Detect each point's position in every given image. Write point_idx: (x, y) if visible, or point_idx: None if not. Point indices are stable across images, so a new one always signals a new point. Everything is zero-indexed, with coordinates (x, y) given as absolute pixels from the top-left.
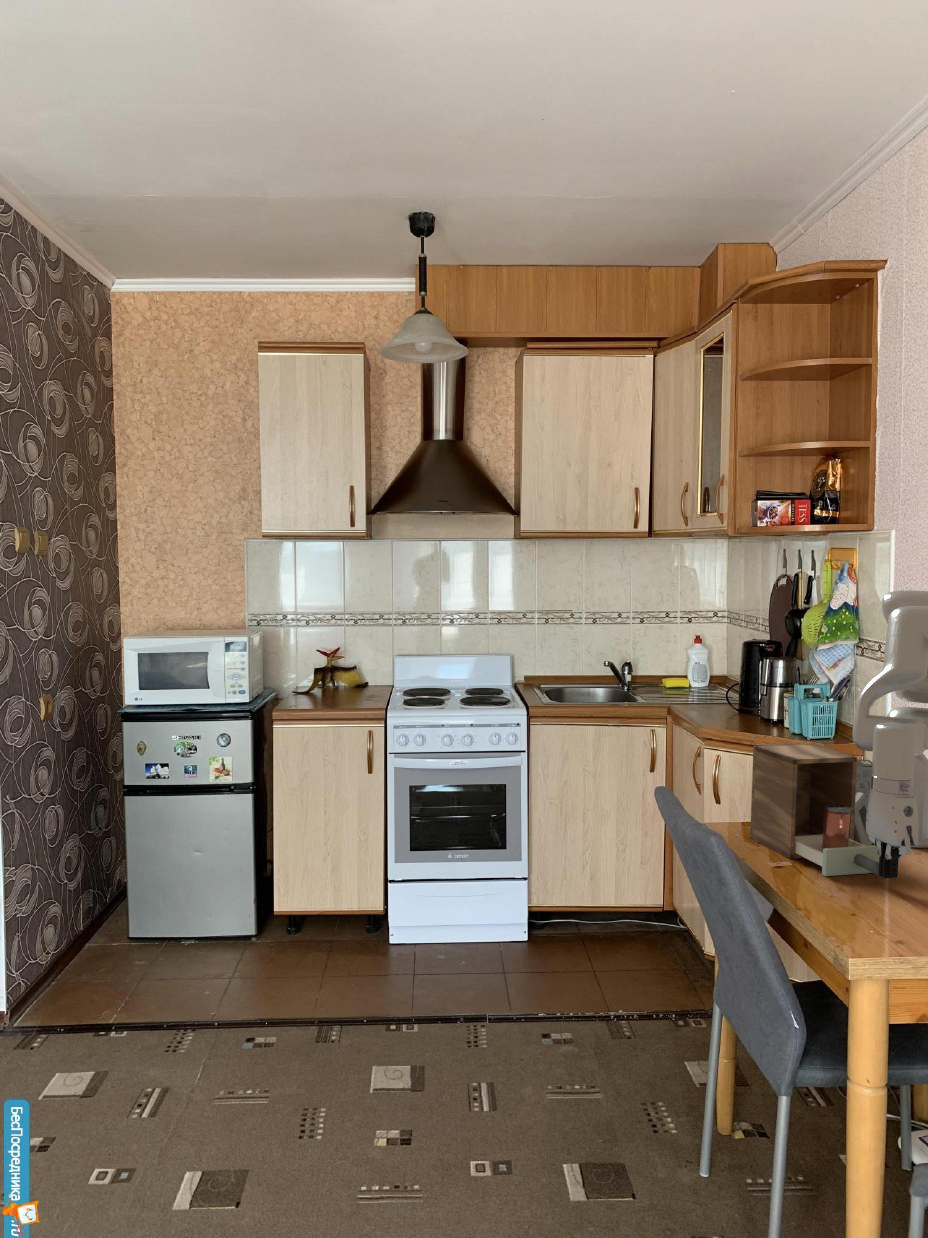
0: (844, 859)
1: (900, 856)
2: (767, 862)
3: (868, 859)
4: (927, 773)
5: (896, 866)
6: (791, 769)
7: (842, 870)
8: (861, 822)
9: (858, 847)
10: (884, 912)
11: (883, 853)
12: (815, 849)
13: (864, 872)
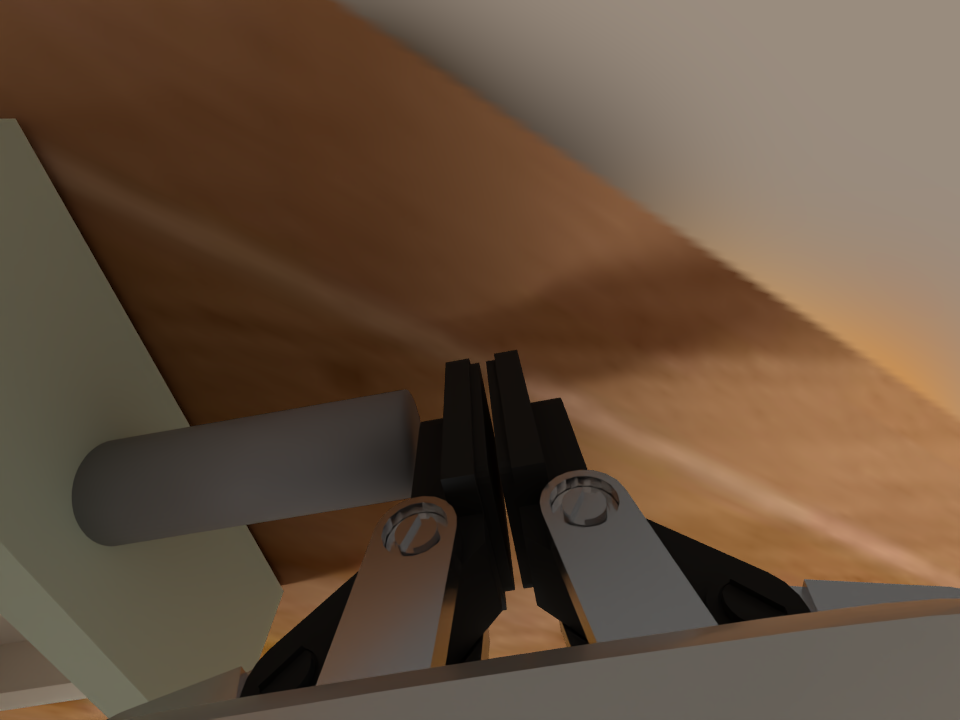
0: (183, 596)
1: (627, 502)
2: (94, 716)
3: (248, 517)
4: None
5: (578, 446)
6: None
7: (224, 535)
8: None
9: (3, 580)
10: (815, 528)
11: (481, 618)
12: (8, 697)
13: (155, 376)
